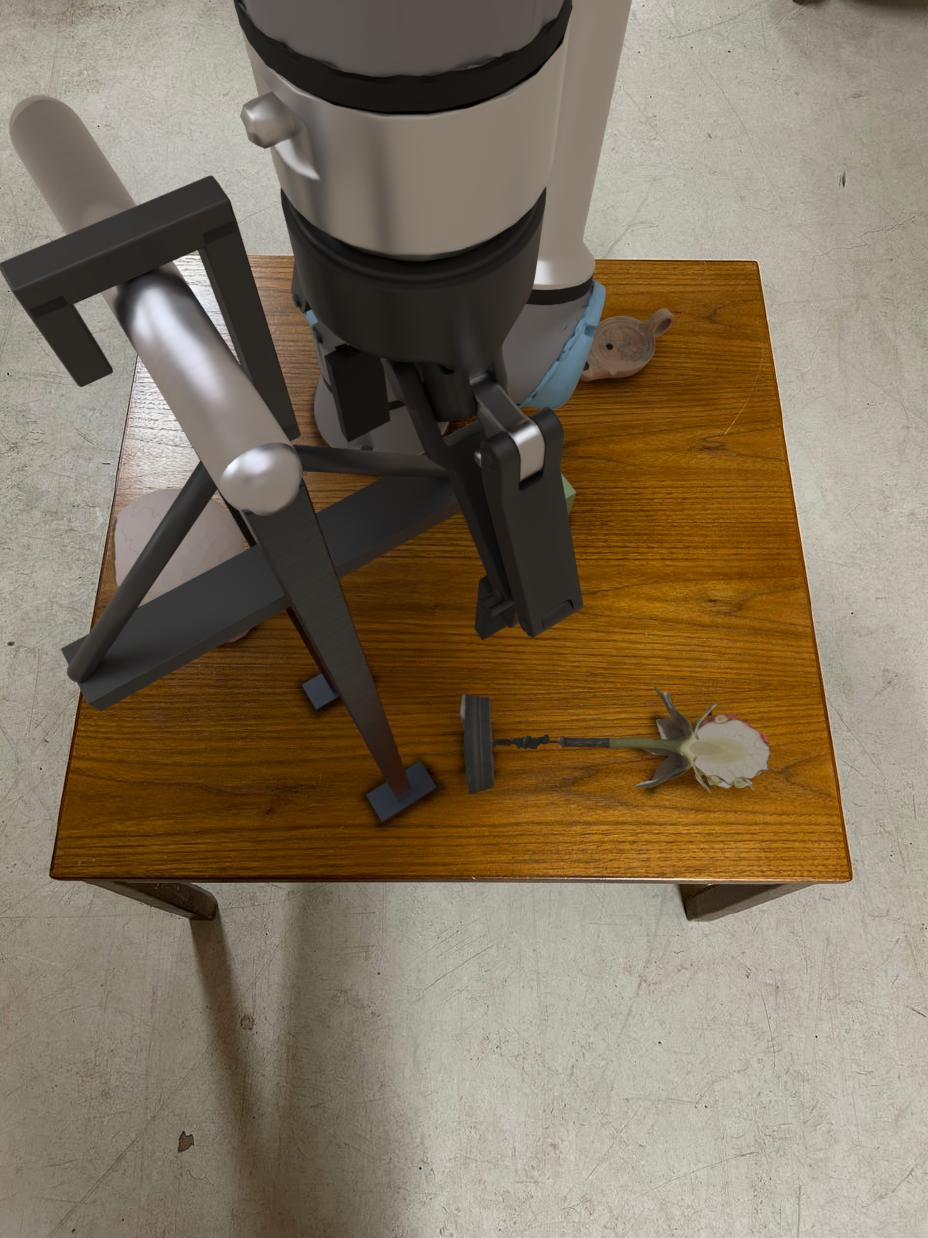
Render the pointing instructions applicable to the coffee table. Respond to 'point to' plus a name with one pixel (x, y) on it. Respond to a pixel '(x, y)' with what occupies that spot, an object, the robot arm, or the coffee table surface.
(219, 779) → the coffee table surface
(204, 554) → the ice cream cone
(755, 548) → the coffee table surface
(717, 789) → the coffee table surface
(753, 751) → the ornament
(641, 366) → the oil lamp
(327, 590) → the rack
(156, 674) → the hanger
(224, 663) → the coffee table surface
